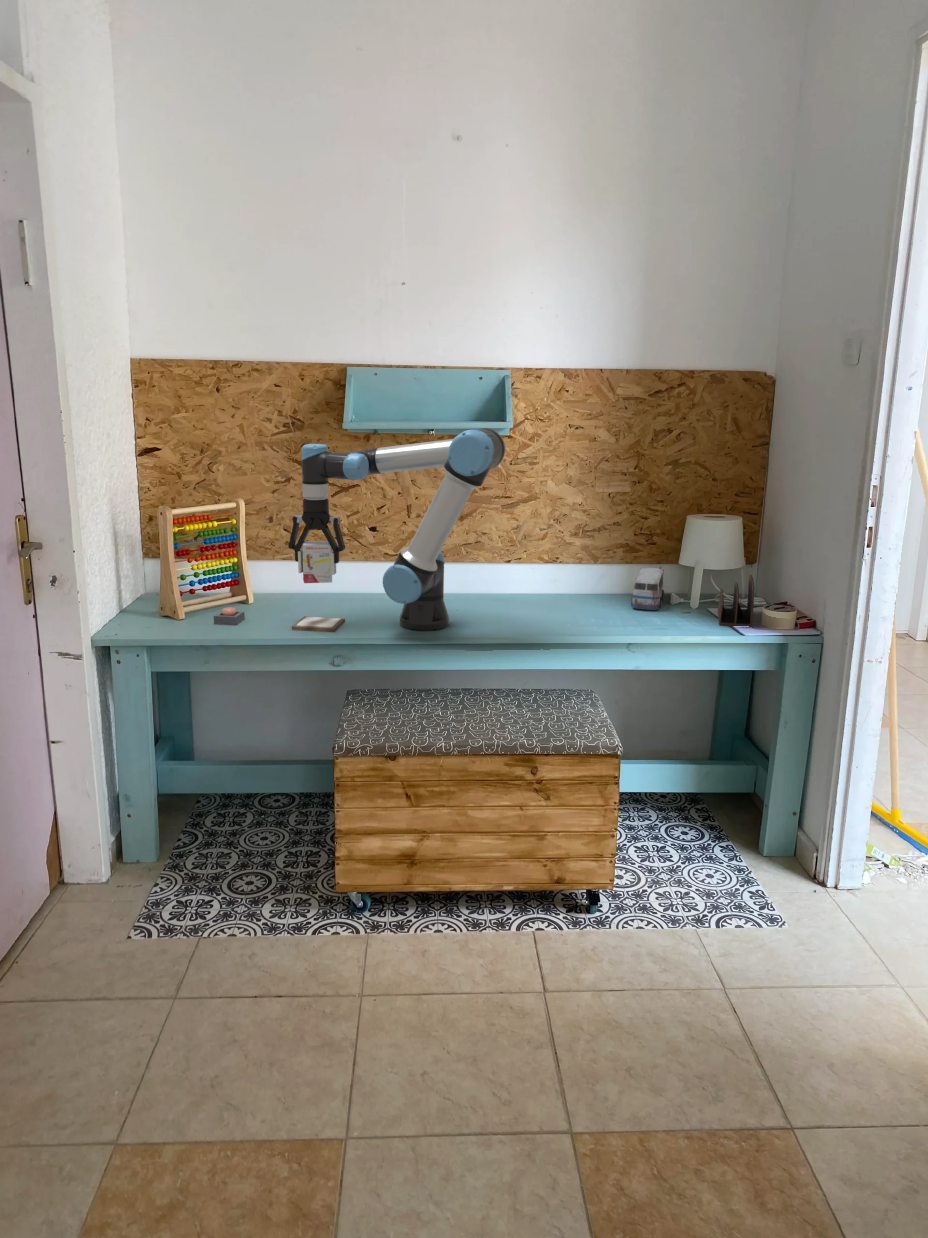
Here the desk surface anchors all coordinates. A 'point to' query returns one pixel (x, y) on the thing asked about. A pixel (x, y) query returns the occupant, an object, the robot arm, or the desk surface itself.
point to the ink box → (317, 562)
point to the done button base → (229, 618)
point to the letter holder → (737, 608)
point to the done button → (229, 611)
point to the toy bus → (648, 589)
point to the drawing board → (318, 624)
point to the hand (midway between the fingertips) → (317, 573)
